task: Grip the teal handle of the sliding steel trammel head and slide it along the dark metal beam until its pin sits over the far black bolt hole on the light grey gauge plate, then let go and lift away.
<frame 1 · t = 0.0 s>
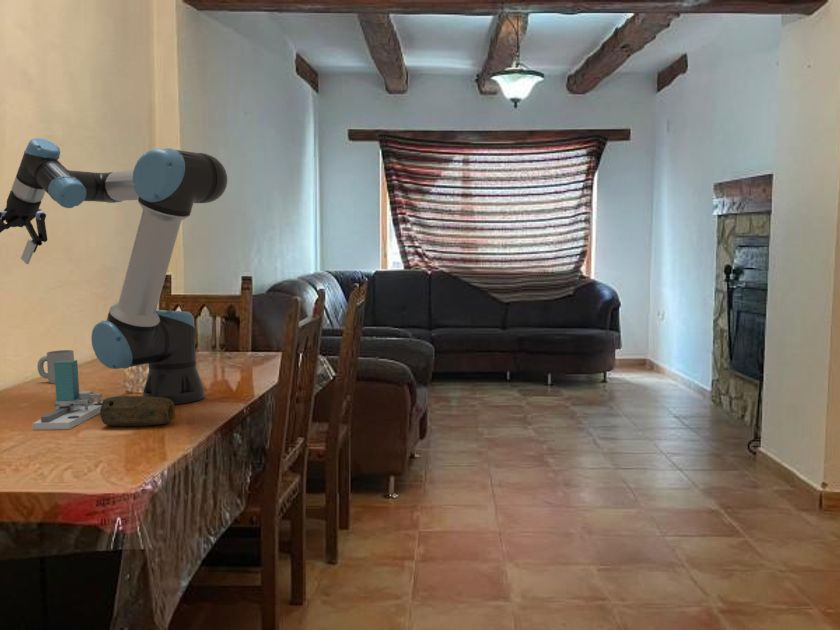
hand: (1, 262, 207), 36 cm above the table, tool tilted 35°, fingers open, 13 cm apart
gauge plate: (73, 418, 179), on the table
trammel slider: (72, 385, 179), point 8 cm above the table, slide at 0.0 cm
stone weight: (138, 426, 171), on the table
cup: (57, 382, 228), on the table
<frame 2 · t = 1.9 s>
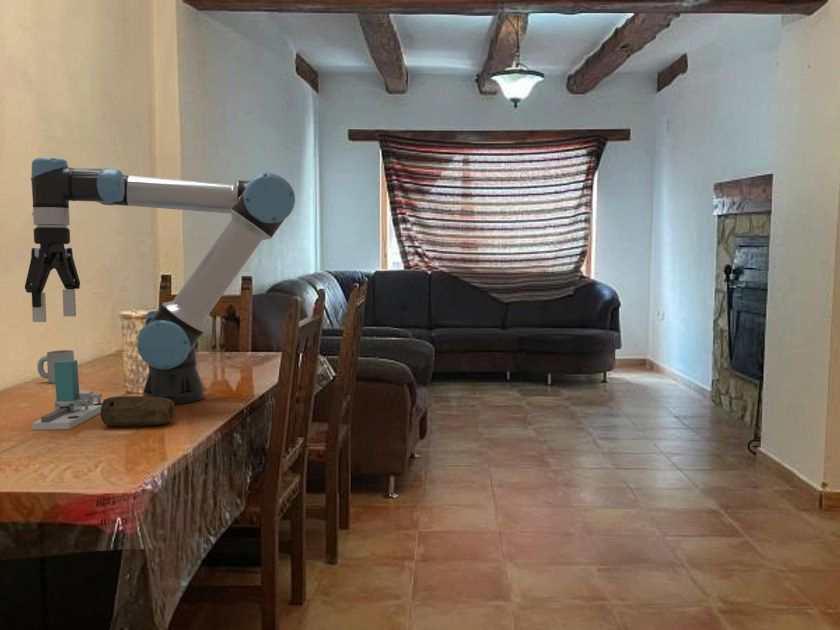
hand: (55, 319, 179), 23 cm above the table, tool pointing down, fingers open, 13 cm apart
nothing on the table moved.
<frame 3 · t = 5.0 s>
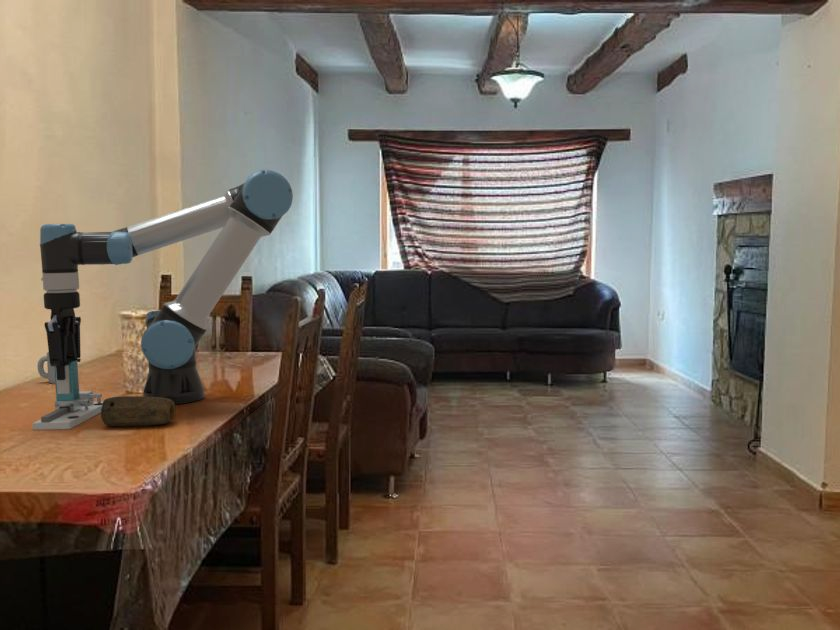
hand: (67, 391, 179), 6 cm above the table, tool pointing down, fingers closed on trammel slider, 3 cm apart
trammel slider: (72, 385, 179), point 8 cm above the table, slide at 0.0 cm, touching gripper
everything else where it was.
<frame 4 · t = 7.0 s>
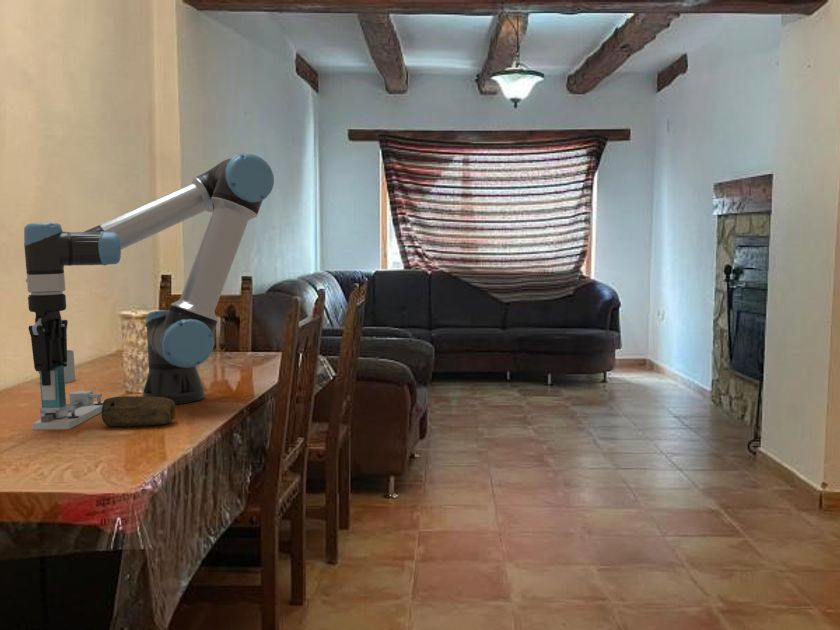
hand: (53, 397, 173), 6 cm above the table, tool pointing down, fingers closed on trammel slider, 3 cm apart
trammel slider: (58, 391, 172), point 8 cm above the table, slide at 7.0 cm, touching gripper
everything else where it was.
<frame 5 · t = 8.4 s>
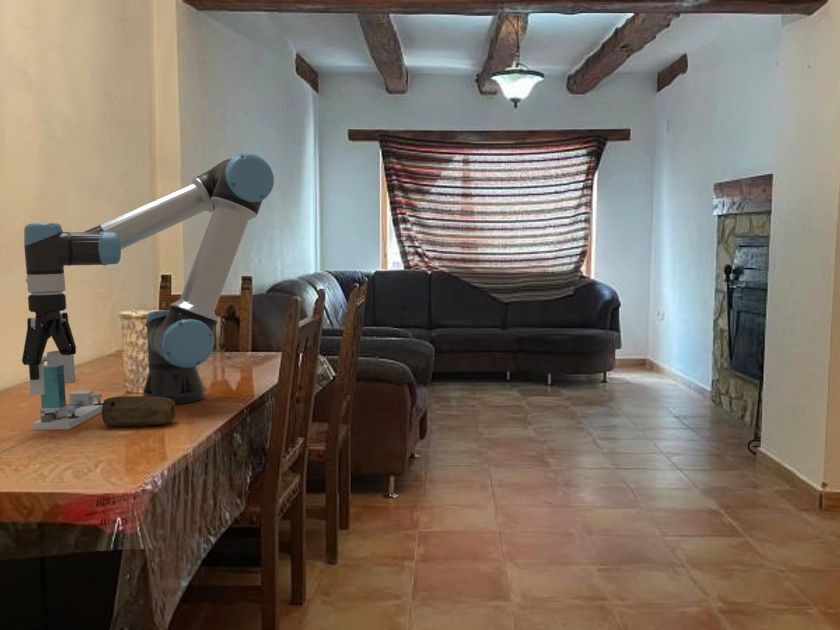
hand: (52, 388, 172), 8 cm above the table, tool pointing down, fingers open, 13 cm apart
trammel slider: (58, 391, 172), point 8 cm above the table, slide at 7.0 cm
everything else where it was.
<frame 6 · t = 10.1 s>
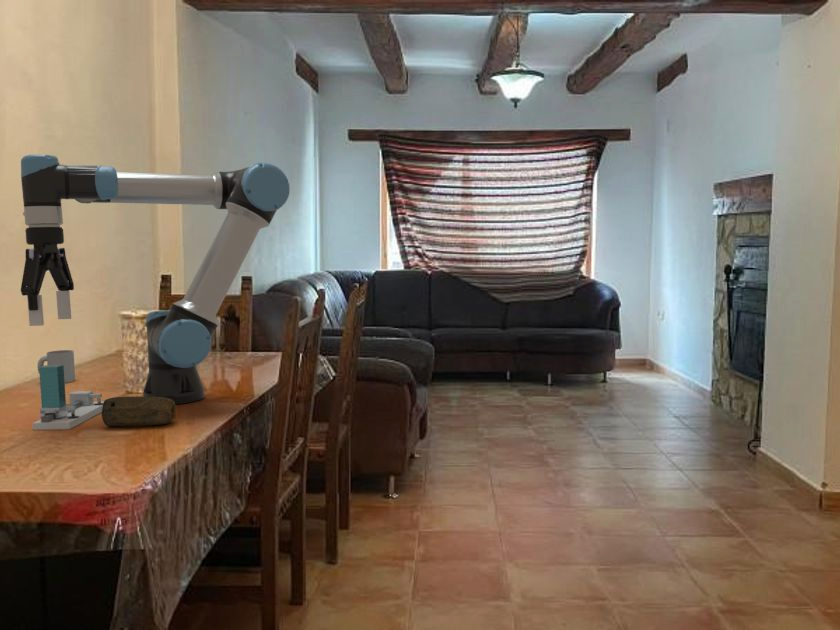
hand: (51, 322, 172), 23 cm above the table, tool pointing down, fingers open, 13 cm apart
nothing on the table moved.
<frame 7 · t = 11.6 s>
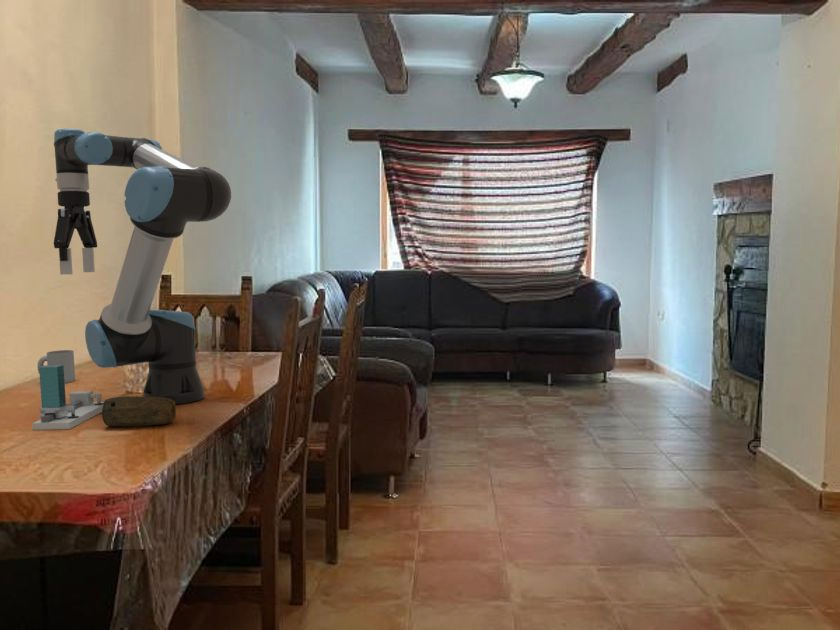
hand: (78, 273, 201), 33 cm above the table, tool pointing down, fingers open, 13 cm apart
nothing on the table moved.
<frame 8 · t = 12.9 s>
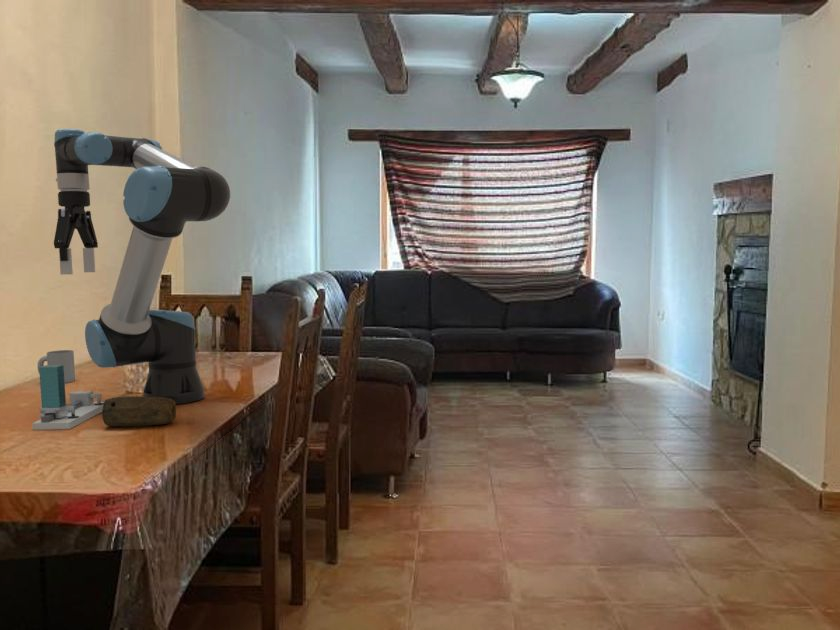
hand: (78, 273, 201), 33 cm above the table, tool pointing down, fingers open, 13 cm apart
nothing on the table moved.
at the end: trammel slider slide at 7.0 cm; the gripper is holding nothing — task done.
